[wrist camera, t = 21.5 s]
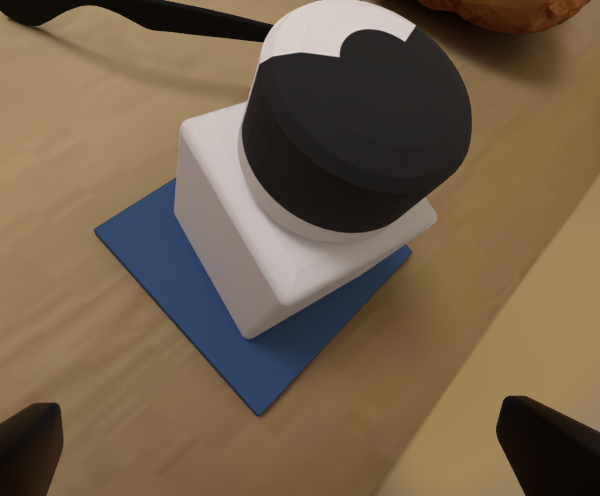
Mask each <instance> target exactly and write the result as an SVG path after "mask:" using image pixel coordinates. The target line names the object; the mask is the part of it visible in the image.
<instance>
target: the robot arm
mask: <svg viewBox="0 0 600 496" xmlns="http://www.w3.org/2000/svg"><path fill="white" fill-rule="evenodd" d="M496 433H497V438H498V440H499V443H500V444H501V447H502V449H503V451H504V453H505V455H506V457H507V459H508V461H509V463H510V465H511V467H512V469H513V471H514V473H515V475H516V477H517V479H518V481H519V483H520V485H521V487H522V489H523V492H524V494H525V496H600V432H599V431H597V430H594V429H592V428H590V427H588V426H586V425H584V424H582V423H580V422H578V421H576V420H574V419H572V418H570V417H568V416H566V415H564V414H562V413H560V412H557V411H556V410H554V409H551V408H549V407H547V406H545V405H543V404H541V403H539V402H537V401H535V400H533V399H531V398H529V397H526V396H508V397H506V398H505V399H504V400H503V403H502V407H501V411H500V415H499V418H498V422H497V426H496ZM62 449H63V429H62V418H61V409H60V406H59V405H58V404H57V403H34V404H32V405H30V406H28V407H26V408H25V409H23V410H21V411H20V412H18V413H17V414H15V415H13V416H12V417H10V418H8V419H7V420H5V421H4V422H2V423H0V496H46V495H47V492H48V490H49V487H50V484H51V481H52V478H53V475H54V473H55V470H56V467H57V464H58V461H59V459H60V456H61V453H62Z"/></svg>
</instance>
